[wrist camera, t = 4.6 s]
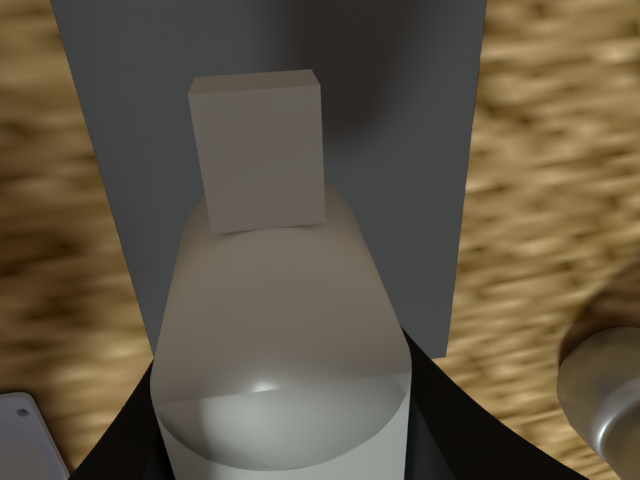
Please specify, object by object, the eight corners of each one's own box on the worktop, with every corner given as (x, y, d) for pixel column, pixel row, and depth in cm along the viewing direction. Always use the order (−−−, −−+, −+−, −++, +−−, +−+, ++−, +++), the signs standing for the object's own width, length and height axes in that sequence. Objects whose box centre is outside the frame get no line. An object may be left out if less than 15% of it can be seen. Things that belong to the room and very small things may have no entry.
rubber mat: (442, 350, 26) (445, 357, 25) (165, 385, 24) (164, 393, 24) (486, -57, 16) (492, -57, 16) (46, -34, 15) (40, -33, 15)
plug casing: (360, 432, 16) (396, 583, 12) (223, 451, 16) (216, 613, 12) (360, 48, 10) (431, 108, 6) (140, 63, 10) (70, 136, 6)
